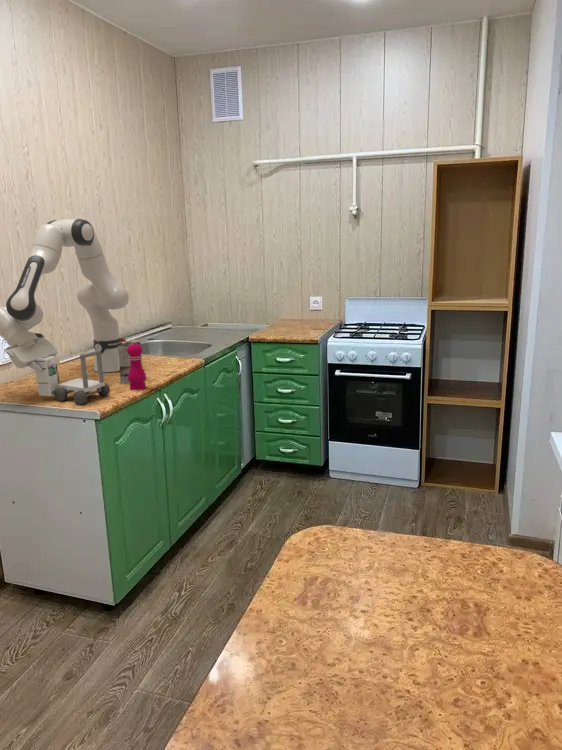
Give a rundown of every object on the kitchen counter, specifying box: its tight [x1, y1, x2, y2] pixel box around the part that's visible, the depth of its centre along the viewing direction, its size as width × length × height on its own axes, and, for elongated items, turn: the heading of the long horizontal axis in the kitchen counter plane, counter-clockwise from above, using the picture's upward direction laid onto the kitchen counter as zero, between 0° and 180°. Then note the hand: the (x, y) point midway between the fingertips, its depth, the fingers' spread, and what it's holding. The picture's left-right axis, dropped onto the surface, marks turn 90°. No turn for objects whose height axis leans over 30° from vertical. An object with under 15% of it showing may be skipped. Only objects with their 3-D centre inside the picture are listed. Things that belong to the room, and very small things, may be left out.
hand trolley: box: [53, 350, 111, 406], centre depth 223 cm, size 14×15×19 cm
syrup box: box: [34, 355, 61, 397], centre depth 222 cm, size 6×6×14 cm
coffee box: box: [118, 341, 143, 384], centre depth 247 cm, size 9×6×16 cm
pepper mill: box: [127, 339, 147, 391], centre depth 235 cm, size 7×7×20 cm
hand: (48, 369), depth 222 cm, fingers closed on syrup box, 6 cm apart
